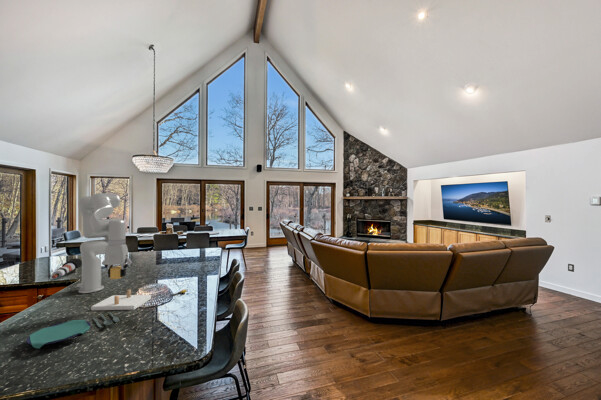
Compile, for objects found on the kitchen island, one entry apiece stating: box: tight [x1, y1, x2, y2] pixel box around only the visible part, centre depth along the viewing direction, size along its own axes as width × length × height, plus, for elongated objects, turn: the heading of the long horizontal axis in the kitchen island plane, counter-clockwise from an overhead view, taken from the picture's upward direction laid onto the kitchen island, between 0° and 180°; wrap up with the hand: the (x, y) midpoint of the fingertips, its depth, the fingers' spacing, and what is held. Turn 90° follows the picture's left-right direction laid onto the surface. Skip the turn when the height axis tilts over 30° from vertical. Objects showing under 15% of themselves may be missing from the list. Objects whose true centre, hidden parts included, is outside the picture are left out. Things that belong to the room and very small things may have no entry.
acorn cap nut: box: [109, 265, 123, 280], centre depth 136 cm, size 6×6×6 cm
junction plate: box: [90, 289, 152, 311], centre depth 141 cm, size 22×16×6 cm
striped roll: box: [51, 258, 82, 279], centre depth 199 cm, size 10×34×10 cm
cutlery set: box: [25, 311, 121, 350], centre depth 112 cm, size 20×30×2 cm, turn 140°
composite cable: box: [170, 288, 189, 298], centre depth 156 cm, size 10×5×2 cm, turn 133°
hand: (116, 276), depth 136 cm, fingers closed on acorn cap nut, 5 cm apart
